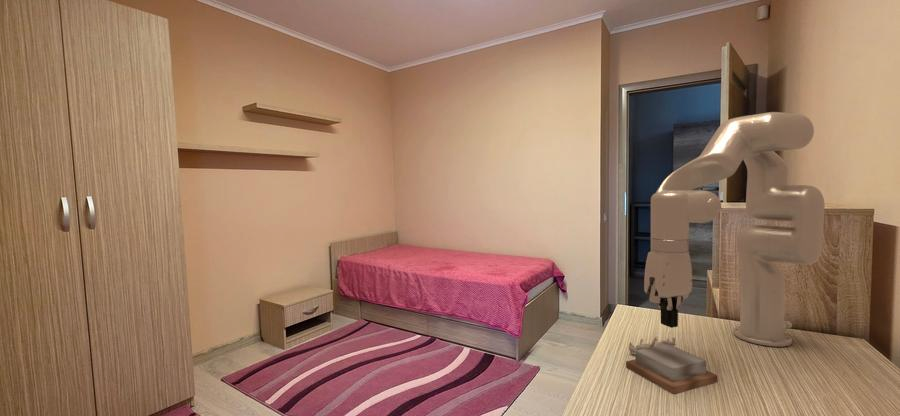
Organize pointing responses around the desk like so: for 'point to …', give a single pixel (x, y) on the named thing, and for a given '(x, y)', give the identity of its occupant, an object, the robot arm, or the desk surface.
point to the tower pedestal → (671, 368)
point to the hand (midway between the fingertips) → (669, 325)
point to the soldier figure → (643, 346)
